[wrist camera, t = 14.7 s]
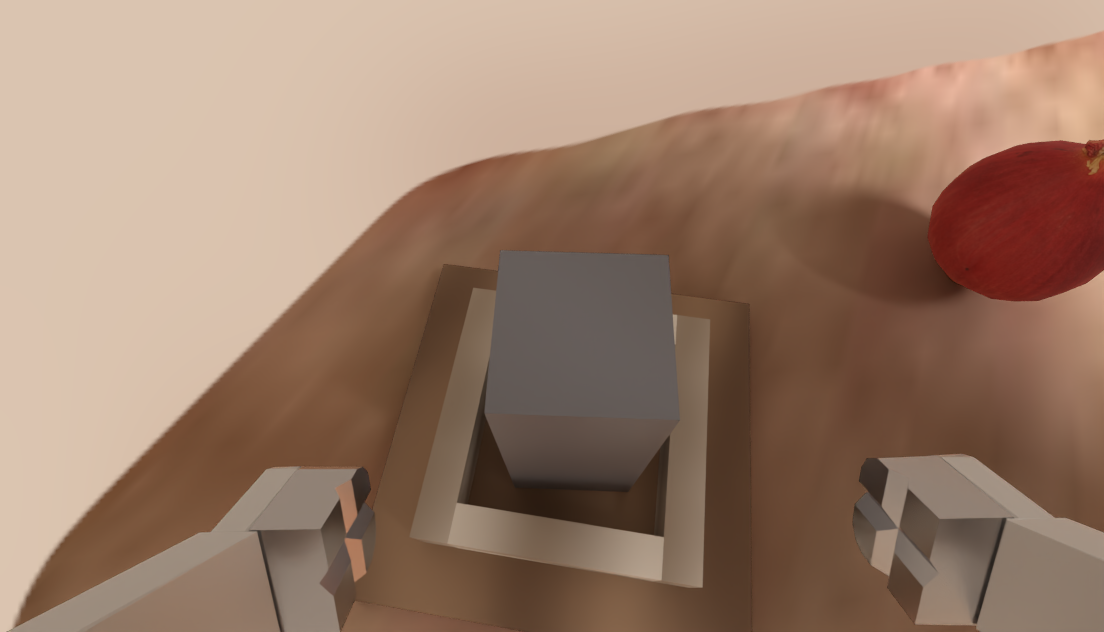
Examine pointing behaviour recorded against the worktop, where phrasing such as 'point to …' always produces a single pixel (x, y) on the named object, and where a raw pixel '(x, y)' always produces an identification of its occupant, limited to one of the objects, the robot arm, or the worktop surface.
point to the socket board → (566, 494)
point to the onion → (1024, 221)
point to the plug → (581, 367)
